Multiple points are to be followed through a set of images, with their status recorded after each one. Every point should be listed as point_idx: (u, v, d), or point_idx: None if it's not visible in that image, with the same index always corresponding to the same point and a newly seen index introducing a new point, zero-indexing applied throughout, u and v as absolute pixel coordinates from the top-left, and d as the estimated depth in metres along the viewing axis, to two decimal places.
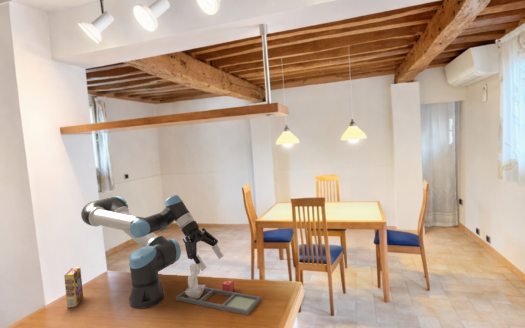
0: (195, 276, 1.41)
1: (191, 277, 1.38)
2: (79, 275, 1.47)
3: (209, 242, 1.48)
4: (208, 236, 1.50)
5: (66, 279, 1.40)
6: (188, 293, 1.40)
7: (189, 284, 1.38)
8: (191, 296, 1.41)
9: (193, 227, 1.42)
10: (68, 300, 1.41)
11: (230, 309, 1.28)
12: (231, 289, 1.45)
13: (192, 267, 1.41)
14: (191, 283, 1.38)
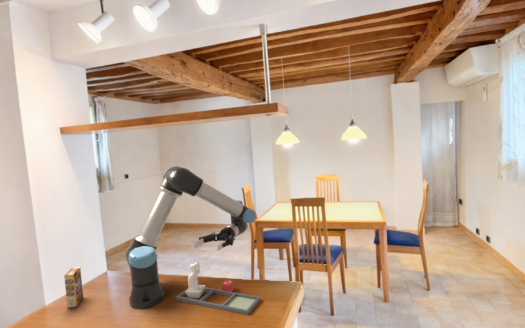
0: (195, 276, 1.41)
1: (191, 277, 1.38)
2: (79, 275, 1.47)
3: (208, 240, 1.62)
4: None
5: (66, 279, 1.40)
6: (188, 293, 1.40)
7: (189, 284, 1.38)
8: (191, 296, 1.41)
9: (229, 241, 1.67)
10: (68, 300, 1.41)
11: (230, 309, 1.28)
12: (231, 289, 1.45)
13: (192, 267, 1.41)
14: (191, 283, 1.38)
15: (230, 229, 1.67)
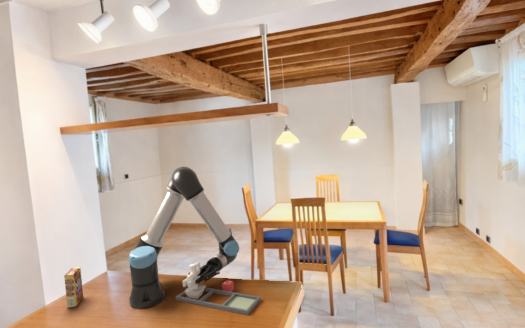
0: (194, 276, 1.41)
1: (190, 277, 1.38)
2: (79, 275, 1.47)
3: (197, 275, 1.48)
4: None
5: (66, 279, 1.40)
6: (187, 292, 1.41)
7: (188, 284, 1.39)
8: (190, 295, 1.41)
9: None
10: (68, 300, 1.41)
11: (230, 309, 1.28)
12: (231, 289, 1.45)
13: (191, 267, 1.41)
14: None
15: (217, 260, 1.56)
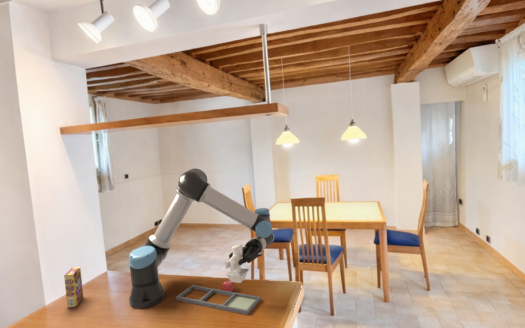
0: None
1: (233, 259, 1.28)
2: (79, 275, 1.47)
3: None
4: None
5: (66, 279, 1.40)
6: (230, 276, 1.30)
7: (231, 267, 1.28)
8: (233, 279, 1.31)
9: None
10: (68, 300, 1.41)
11: (230, 309, 1.28)
12: (231, 289, 1.45)
13: (234, 249, 1.30)
14: None
15: (257, 242, 1.45)
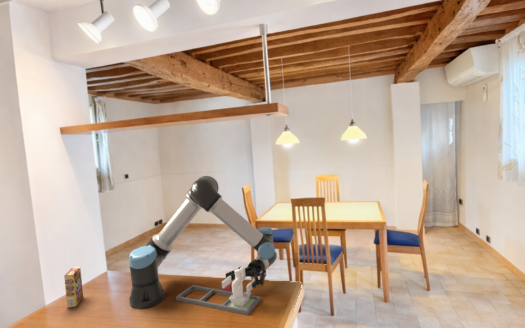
0: (240, 282, 1.31)
1: (235, 283, 1.28)
2: (79, 275, 1.47)
3: None
4: None
5: (66, 279, 1.40)
6: (232, 300, 1.31)
7: (233, 291, 1.28)
8: (236, 303, 1.31)
9: (258, 276, 1.45)
10: (68, 300, 1.41)
11: (230, 309, 1.28)
12: (231, 289, 1.45)
13: (237, 272, 1.31)
14: (235, 290, 1.28)
15: (260, 262, 1.45)
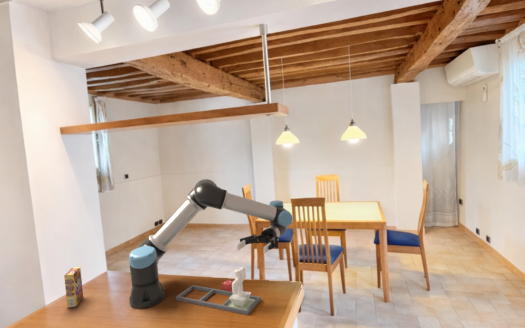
0: (240, 282, 1.31)
1: (235, 283, 1.28)
2: (79, 275, 1.47)
3: (249, 241, 1.52)
4: None
5: (66, 279, 1.40)
6: (232, 300, 1.31)
7: (233, 291, 1.28)
8: (236, 303, 1.31)
9: None
10: (68, 300, 1.41)
11: (230, 309, 1.28)
12: (231, 289, 1.45)
13: (237, 272, 1.31)
14: (235, 290, 1.28)
15: (272, 231, 1.57)
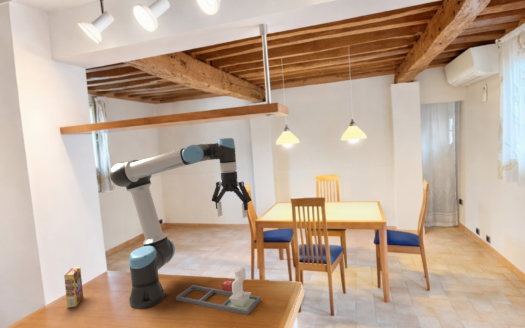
0: (240, 282, 1.31)
1: (235, 283, 1.28)
2: (79, 275, 1.47)
3: (221, 197, 1.47)
4: (218, 191, 1.48)
5: (66, 279, 1.40)
6: (232, 300, 1.31)
7: (233, 291, 1.28)
8: (236, 303, 1.31)
9: None
10: (68, 300, 1.41)
11: (230, 309, 1.28)
12: (231, 289, 1.45)
13: (237, 272, 1.31)
14: (235, 290, 1.28)
15: (230, 176, 1.41)
